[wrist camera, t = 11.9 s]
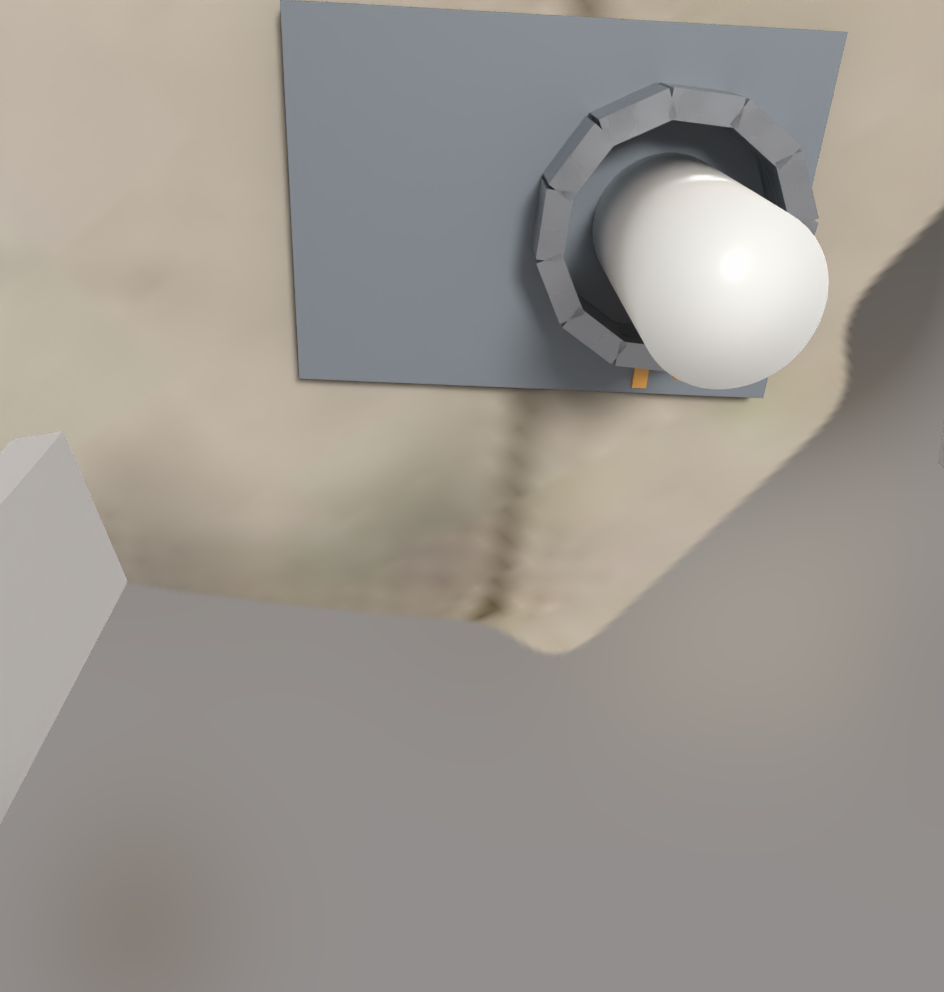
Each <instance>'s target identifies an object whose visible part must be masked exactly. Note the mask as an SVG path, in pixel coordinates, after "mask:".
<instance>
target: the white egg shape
mask: <svg viewBox="0 0 944 992" xmlns="http://www.w3.org/2000/svg"><path fill="white" fill-rule="evenodd" d="M592 237H593V245H594V250H595V253H596V256H597V259H598V261H599V263H600V265H601V267H602V268H603V270H604V272H605V274H606V276H607V277H608V279H609V281H610V283H611V285H612V286H613V288H614V290H615V292H616V294H617V295H618V297H619V299H620V301H621V303H622V304H623V306H624V308H625V310H626V312H627V313H628V315H629V317H630V319H631V321H632V322H633V324H634V326H635V328H636V330H637V331H638V333H639V335H640V337H641V339H642V340H643V342H644V344H645V346H646V348H647V349H648V351H649V353H650V354H651V356H652V357H653V358H654V360H655V361H656V362H657V363H658V364H659V365H660V366H661V367H662V369H664V370H665V371H666V372H667V373H669V374H670V375H671V376H672V378H673V380H677V381H682V382H685V383H687V384H689V385H693V386H696V387H700V388H707V389H731V388H738V387H742V386H746V385H750V384H753V383H755V382H758V381H761V380H763V379H765V378H767V377H769V376H771V375H772V374H774V373H775V372H777V371H779V370H780V369H782V368H783V367H784V366H785V365H787V364H788V363H789V362H790V361H792V360H793V359H794V358H795V357H796V356H797V355H798V354H799V353H800V352H801V351H802V349H803V348H804V347H805V346H806V344H807V343H808V342H809V340H810V339H811V337H812V336H813V334H814V332H815V331H816V329H817V327H818V325H819V323H820V320H821V318H822V315H823V312H824V309H825V306H826V301H827V296H828V284H829V281H828V269H827V264H826V260H825V257H824V254H823V251H822V249H821V247H820V245H819V243H818V241H817V239H816V238H815V236H814V235H813V234H812V232H811V231H810V230H809V229H808V228H807V227H806V226H805V225H804V224H803V223H802V222H801V221H800V220H798V219H797V218H795V217H794V216H792V215H791V214H789V213H788V212H786V211H784V210H783V209H781V208H780V207H778V206H776V205H775V204H773V203H771V202H770V201H768V200H766V199H765V198H763V197H761V196H760V195H758V194H757V193H755V192H753V191H752V190H750V189H748V188H747V187H745V186H743V185H742V184H740V183H738V182H737V181H735V180H734V179H732V178H730V177H729V176H727V175H725V174H724V173H722V172H720V171H719V170H717V169H716V168H714V167H712V166H711V165H709V164H707V163H706V162H704V161H702V160H700V159H698V158H696V157H694V156H691V155H688V154H684V153H677V152H663V153H656V154H653V155H649V156H646V157H643V158H641V159H639V160H637V161H635V162H633V163H632V164H630V165H628V166H627V167H626V168H624V169H623V170H622V171H620V172H619V173H618V174H617V175H616V176H615V177H614V178H613V180H612V181H611V182H610V183H609V185H608V186H607V187H606V189H605V190H604V192H603V194H602V195H601V198H600V200H599V202H598V204H597V207H596V210H595V214H594V219H593V227H592Z"/></svg>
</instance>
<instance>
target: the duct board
mask: <svg viewBox="0 0 944 992" xmlns="http://www.w3.org/2000/svg"><path fill="white" fill-rule="evenodd" d="M280 9H281V29H282V48H283V68H284V88H285V107H286V127H287V147H288V167H289V186H290V206H291V226H292V245H293V265H294V285H295V304H296V324H297V344H298V364H299V379H322V380H346V381H369V382H393V383H416V384H440V385H464V386H487V387H511V388H534V389H558V390H582V391H605V392H629V393H652V394H676V395H699V396H723V397H747V398H763V396H764V392H765V388H766V383H767V379H768V377H767V378H765V379H763V380H761V381H758V382H755V383H753V384H750V385H746V386H742V387H738V388H731V389H707V388H700V387H696V386H693V385H689V384H687V383H685V382H682V381H677V380H673V378H672V376H671V375H670V374H669V373H667V372H666V371H658V370H649V369H640V368H631V367H622V366H615V364H614V362H613V363H612V364H610V363H609V362H608V361H606V360H605V359H604V358H602V357H601V356H600V355H598V354H597V353H596V352H594V351H593V350H592V349H590V348H589V347H588V346H586V345H585V344H584V343H582V342H581V341H580V340H578V339H577V338H576V337H574V336H573V335H572V334H570V333H569V332H568V331H566V330H565V329H564V328H562V325H561V324H559V321H558V318H557V316H556V313H555V311H554V308H553V306H552V303H551V300H550V298H549V295H548V293H547V290H546V288H545V285H544V282H543V280H542V277H541V275H540V272H539V270H538V267H537V264H536V261H535V258H534V255H533V251H532V245H531V240H532V234H533V227H534V221H535V214H536V207H537V201H538V194H539V187H540V181H541V177H542V178H545V176H544V174H543V172H544V171H545V169H546V168H547V167H548V165H549V164H550V163H551V161H552V160H553V159H554V157H555V156H556V155H557V153H558V152H559V151H560V149H561V148H562V147H563V145H564V144H565V143H566V141H567V140H568V139H569V137H570V136H571V135H572V133H573V132H574V131H575V129H576V128H577V127H578V125H579V124H580V123H581V121H582V120H583V119H584V117H585V116H587V117H588V118H589V119H590V120H592V118H591V115H590V112H592V111H594V110H596V109H598V108H600V107H603V106H605V105H607V104H609V103H611V102H614V101H616V100H618V99H620V98H622V97H625V96H627V95H629V94H631V93H633V92H636V91H638V90H640V89H642V88H644V87H647V86H649V85H651V84H653V83H656V84H659V82H662V83H670V84H677V85H685V86H692V87H699V88H707V89H714V90H722V91H728V92H731V93H735V94H738V95H741V96H745V97H746V98H749V99H751V100H752V101H753V102H754V103H755V104H757V105H758V106H759V107H760V108H761V109H762V110H763V111H764V112H765V113H766V114H767V115H768V116H769V117H770V118H772V119H773V120H774V121H775V122H776V123H777V124H778V125H779V126H780V127H781V128H782V129H783V130H784V131H785V132H786V133H788V134H789V135H790V136H791V137H792V138H793V139H794V140H795V141H796V142H797V143H798V144H799V145H800V146H801V147H800V148H799V149H801V150H803V151H804V155H805V160H806V164H807V169H808V173H809V178H810V182H811V187H812V184H813V180H814V176H815V171H816V167H817V163H818V158H819V154H820V150H821V145H822V141H823V137H824V132H825V128H826V124H827V119H828V115H829V111H830V106H831V102H832V98H833V93H834V89H835V85H836V80H837V76H838V72H839V67H840V63H841V59H842V54H843V50H844V46H845V41H846V37H847V33H848V32H838V31H820V30H803V29H785V28H768V27H751V26H733V25H716V24H698V23H681V22H663V21H646V20H629V19H611V18H594V17H576V16H559V15H541V14H524V13H507V12H489V11H472V10H454V9H437V8H419V7H402V6H385V5H367V4H350V3H332V2H315V1H297V0H280ZM663 152H677V153H684V154H688V155H691V156H694V157H696V158H698V159H700V160H702V161H704V162H706V163H707V164H709V165H711V166H712V167H714V168H716V169H717V170H719V171H720V172H722V173H724V174H725V175H727V176H729V177H730V178H732V179H734V180H735V181H737V182H738V183H740V184H742V185H743V186H745V187H747V188H748V189H750V190H752V191H753V192H755V193H757V194H758V195H760V196H761V197H763V198H765V194H764V190H763V186H762V182H761V178H760V174H759V170H758V166H757V162H756V158H755V156H754V155H753V154H751V153H750V152H749V151H748V150H747V149H746V148H745V147H744V146H743V145H742V144H740V143H739V142H738V141H737V140H736V139H735V138H734V137H733V136H732V135H731V134H729V133H728V132H727V131H726V130H725V129H724V128H723V127H722V126H716V125H708V124H700V123H693V122H685V121H678V120H671V121H669V122H667V123H664V124H662V125H660V126H658V127H655V128H653V129H651V130H649V131H646V132H644V133H642V134H640V135H637V136H635V137H633V138H631V139H628V140H626V141H624V142H622V143H619V144H617V145H615V146H613V147H612V149H611V150H610V151H609V152H608V154H607V155H606V156H605V158H604V159H603V160H602V161H601V163H600V164H599V165H598V167H597V168H596V169H595V171H594V172H593V173H592V174H591V176H590V177H589V178H588V180H587V181H586V182H585V183H584V185H583V186H582V187H581V189H580V190H579V191H578V193H577V194H576V195H575V196H574V198H573V204H572V210H571V216H570V221H569V227H568V233H567V239H566V245H565V251H564V257H563V258H564V261H565V264H566V266H567V269H568V272H569V274H570V277H571V280H572V282H573V285H574V288H575V290H576V292H577V293H578V294H579V295H580V296H582V297H583V298H584V299H586V300H587V301H588V302H590V303H591V304H592V305H593V306H595V307H596V308H597V309H599V310H600V311H601V312H602V313H604V314H605V315H606V316H608V317H609V318H610V319H612V320H613V321H614V322H619V323H628V324H633V322H632V321H631V319H630V317H629V315H628V313H627V312H626V310H625V308H624V306H623V304H622V303H621V301H620V299H619V297H618V295H617V294H616V292H615V290H614V288H613V286H612V285H611V283H610V281H609V279H608V277H607V276H606V274H605V272H604V270H603V268H602V267H601V265H600V263H599V261H598V259H597V256H596V253H595V250H594V245H593V237H592V227H593V219H594V214H595V210H596V207H597V204H598V202H599V200H600V198H601V195H602V194H603V192H604V190H605V189H606V187H607V186H608V185H609V183H610V182H611V181H612V180H613V178H614V177H615V176H616V175H617V174H618V173H619V172H620V171H622V170H623V169H624V168H626V167H627V166H628V165H630V164H632V163H633V162H635V161H637V160H639V159H641V158H643V157H646V156H649V155H653V154H656V153H663ZM765 199H766V198H765Z"/></svg>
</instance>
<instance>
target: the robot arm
mask: <svg viewBox="0 0 944 992" xmlns="http://www.w3.org/2000/svg"><path fill="white" fill-rule="evenodd" d="M938 463H939V464H940V465H941V466H942V467H943V468H944V424H943V431H942V439H941V445H940V453H939V460H938ZM127 582H128V581H127V579H126V577H125V574H124V572H123V570H122V567H121V565H120V563H119V560H118V558H117V556H116V553H115V551H114V549H113V546H112V544H111V542H110V539H109V537H108V535H107V532H106V530H105V528H104V525H103V523H102V521H101V518H100V516H99V514H98V511H97V509H96V507H95V504H94V502H93V500H92V497H91V495H90V493H89V490H88V488H87V486H86V483H85V481H84V479H83V476H82V474H81V472H80V469H79V467H78V465H77V462H76V460H75V458H74V455H73V453H72V451H71V448H70V446H69V444H68V441H67V439H66V437H65V434H64V432H56V433H50V434H43V435H37V436H30V437H24V438H17V439H13V440H12V441H11V442H10V443H9V444H8V445H7V446H6V447H5V448H4V449H3V450H2V451H1V452H0V825H1V823H2V821H3V819H4V817H5V815H6V813H7V811H8V809H9V807H10V805H11V803H12V802H13V800H14V798H15V796H16V794H17V792H18V790H19V788H20V786H21V785H22V783H23V781H24V779H25V777H26V775H27V773H28V771H29V769H30V767H31V765H32V764H33V762H34V760H35V758H36V756H37V754H38V752H39V750H40V748H41V746H42V744H43V743H44V741H45V739H46V737H47V735H48V733H49V731H50V729H51V727H52V725H53V723H54V722H55V720H56V718H57V716H58V714H59V712H60V710H61V708H62V706H63V704H64V702H65V700H66V699H67V697H68V695H69V693H70V691H71V689H72V687H73V685H74V683H75V681H76V679H77V678H78V676H79V674H80V672H81V670H82V668H83V666H84V664H85V662H86V660H87V659H88V657H89V655H90V653H91V651H92V649H93V647H94V645H95V643H96V641H97V640H98V638H99V636H100V634H101V632H102V630H103V628H104V626H105V624H106V622H107V620H108V619H109V617H110V615H111V613H112V611H113V609H114V607H115V605H116V603H117V601H118V599H119V598H120V596H121V594H122V592H123V590H124V588H125V586H126V584H127Z"/></svg>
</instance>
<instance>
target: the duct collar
mask: <svg viewBox="0 0 944 992" xmlns="http://www.w3.org/2000/svg"><path fill="white" fill-rule="evenodd" d="M590 115H591V118H592V120H590V119H589V118H588V117H587V116H585V117H584V119H583V120H582V121H581V123H580V124H579V125H578V127H577V128H576V129H575V131H574V132H573V133H572V135H571V136H570V137H569V139H568V140H567V141H566V143H565V144H564V145H563V147H562V148H561V149H560V151H559V152H558V153H557V155H556V156H555V157H554V159H553V160H552V161H551V163H550V164H549V165H548V167H547V168H546V169H545V171H544V172H543V174H544V176H545V178H542V177H541V181H540V187H539V194H538V201H537V207H536V214H535V221H534V227H533V234H532V240H531V245H532V251H533V255H534V258H535V261H536V264H537V267H538V270H539V272H540V275H541V277H542V280H543V282H544V285H545V288H546V290H547V293H548V295H549V298H550V300H551V303H552V306H553V308H554V311H555V313H556V316H557V318H558V321H559V324H561V325H562V328H564V329H565V330H566V331H568V332H569V333H570V334H572V335H573V336H574V337H576V338H577V339H578V340H580V341H581V342H582V343H584V344H585V345H586V346H588V347H589V348H590V349H592V350H593V351H594V352H596V353H597V354H598V355H600V356H601V357H602V358H604V359H605V360H606V361H608V362H609V363H610V364H612V363H613V362H614V364H615V366H622V367H631V368H640V369H649V370H658V371H665V370H664V369H662V367H661V366H660V365H659V364H658V363H657V362H656V361H655V360H654V358H653V357H652V356H651V354H650V353H649V351H648V349H647V348H646V346H645V344H644V342H643V340H642V339H641V337H640V335H639V333H638V331H637V330H636V328H635V326H634V324H628V323H619V322H614V321H613V320H612V319H610V318H609V317H608V316H606V315H605V314H604V313H602V312H601V311H600V310H599V309H597V308H596V307H595V306H593V305H592V304H591V303H590V302H588V301H587V300H586V299H584V298H583V297H582V296H580V295H579V294H578V293H577V292H576V290H575V288H574V285H573V282H572V280H571V277H570V274H569V272H568V269H567V266H566V264H565V261H564V258H563V257H564V251H565V245H566V239H567V233H568V227H569V221H570V216H571V210H572V204H573V198H574V196H575V195H576V194H577V193H578V191H579V190H580V189H581V187H582V186H583V185H584V183H585V182H586V181H587V180H588V178H589V177H590V176H591V174H592V173H593V172H594V171H595V169H596V168H597V167H598V165H599V164H600V163H601V161H602V160H603V159H604V158H605V156H606V155H607V154H608V152H609V151H610V150H611V149H612V147H613V146H615V145H617V144H619V143H622V142H624V141H626V140H628V139H631V138H633V137H635V136H637V135H640V134H642V133H644V132H646V131H649V130H651V129H653V128H655V127H658V126H660V125H662V124H664V123H667V122H669V121H671V120H678V121H685V122H693V123H700V124H708V125H716V126H722V127H723V128H724V129H725V130H726V131H727V132H728V133H729V134H731V135H732V136H733V137H734V138H735V139H736V140H737V141H738V142H739V143H740V144H742V145H743V146H744V147H745V148H746V149H747V150H748V151H749V152H750V153H751V154H753V155H754V156H755V158H756V162H757V166H758V170H759V174H760V178H761V182H762V186H763V190H764V194H765V198H766V200H768V201H770V202H771V203H773V204H775V205H776V206H778V207H780V208H781V209H783V210H784V211H786V212H788V213H789V214H791V215H792V216H794V217H795V218H797V219H798V220H800V221H801V222H802V223H803V224H804V225H805V226H806V227H807V228H808V229H809V230H810V231H811V232H812V234H813V235H815V232H816V228H817V225H818V222H816V221H814V220H815V219H817V218H818V214H817V209H816V205H815V200H814V196H813V191H812V187H811V182H810V178H809V173H808V169H807V164H806V160H805V155H804V151H803V150H801V149H799V148H800V147H801V146H800V145H799V144H798V143H797V142H796V141H795V140H794V139H793V138H792V137H791V136H790V135H789V134H788V133H786V132H785V131H784V130H783V129H782V128H781V127H780V126H779V125H778V124H777V123H776V122H775V121H774V120H773V119H772V118H770V117H769V116H768V115H767V114H766V113H765V112H764V111H763V110H762V109H761V108H760V107H759V106H758V105H757V104H755V103H754V102H753V101H752V100H751V99H749V98H746V97H745V96H741V95H738V94H735V93H731V92H728V91H722V90H714V89H707V88H699V87H692V86H685V85H677V84H670V83H662V82H659V84H656V83H653V84H651V85H649V86H647V87H644V88H642V89H640V90H638V91H636V92H633V93H631V94H629V95H627V96H625V97H622V98H620V99H618V100H616V101H614V102H611V103H609V104H607V105H605V106H603V107H600V108H598V109H596V110H594V111H592V112H590Z"/></svg>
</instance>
